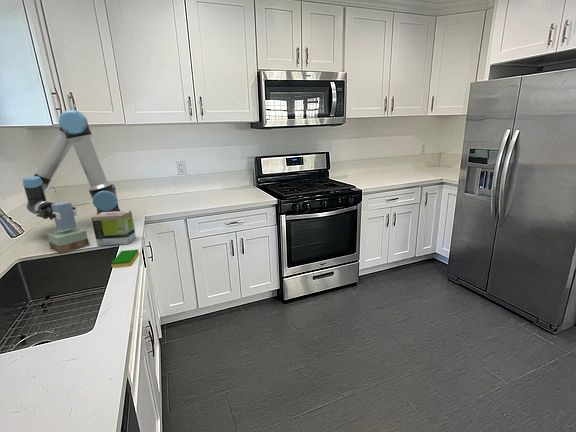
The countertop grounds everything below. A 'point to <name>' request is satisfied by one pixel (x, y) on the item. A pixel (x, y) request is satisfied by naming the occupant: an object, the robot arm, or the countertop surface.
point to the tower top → (67, 236)
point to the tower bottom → (69, 246)
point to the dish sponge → (125, 258)
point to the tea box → (113, 228)
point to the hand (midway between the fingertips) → (67, 214)
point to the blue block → (64, 215)
